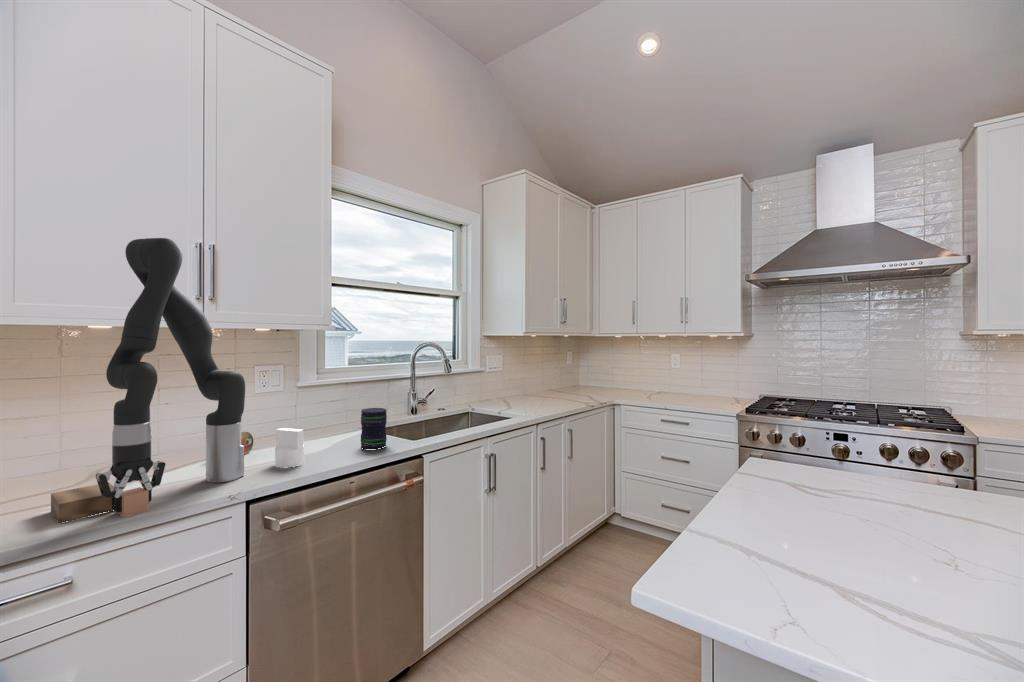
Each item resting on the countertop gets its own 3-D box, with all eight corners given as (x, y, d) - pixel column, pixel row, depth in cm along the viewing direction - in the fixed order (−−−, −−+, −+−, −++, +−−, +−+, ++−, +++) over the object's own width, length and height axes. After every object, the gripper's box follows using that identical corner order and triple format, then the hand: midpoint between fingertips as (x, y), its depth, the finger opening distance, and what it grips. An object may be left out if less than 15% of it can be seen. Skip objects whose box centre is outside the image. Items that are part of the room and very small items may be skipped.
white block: (268, 467, 154) (268, 431, 153) (287, 459, 162) (288, 426, 162) (291, 469, 152) (291, 433, 151) (309, 461, 160) (310, 427, 160)
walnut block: (108, 500, 123) (108, 482, 122) (119, 511, 116) (119, 491, 116) (50, 513, 114) (50, 493, 114) (58, 525, 107) (58, 504, 107)
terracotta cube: (139, 506, 118) (139, 487, 118) (148, 510, 116) (148, 490, 116) (115, 512, 114) (115, 492, 114) (124, 517, 111) (124, 496, 111)
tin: (221, 462, 158) (221, 438, 158) (213, 462, 158) (213, 438, 158) (254, 451, 172) (254, 429, 172) (246, 451, 173) (247, 429, 173)
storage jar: (379, 443, 188) (379, 407, 188) (391, 447, 181) (391, 410, 181) (356, 447, 182) (356, 409, 181) (367, 452, 174) (367, 413, 174)
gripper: (158, 433, 123) (158, 496, 123) (88, 444, 110) (89, 514, 111) (172, 437, 119) (172, 502, 119) (101, 448, 106) (101, 521, 107)
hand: (132, 507), depth 115 cm, fingers closed on terracotta cube, 5 cm apart
